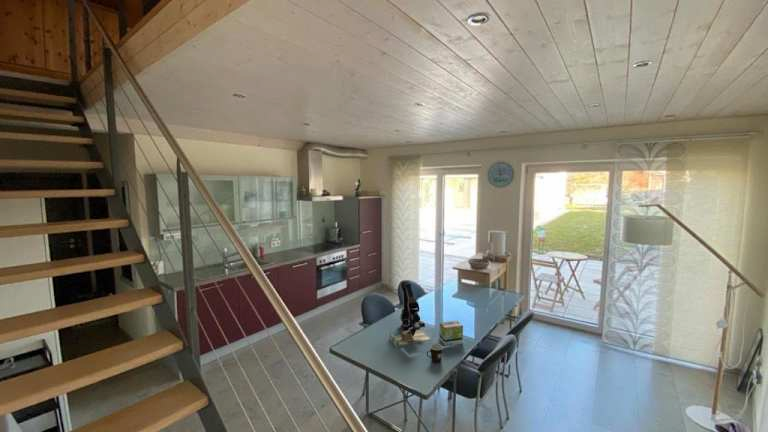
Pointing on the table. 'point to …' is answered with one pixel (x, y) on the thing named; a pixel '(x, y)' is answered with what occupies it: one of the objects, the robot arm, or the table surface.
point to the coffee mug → (436, 352)
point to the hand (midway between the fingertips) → (413, 336)
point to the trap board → (417, 336)
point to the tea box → (451, 333)
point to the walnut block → (407, 335)
